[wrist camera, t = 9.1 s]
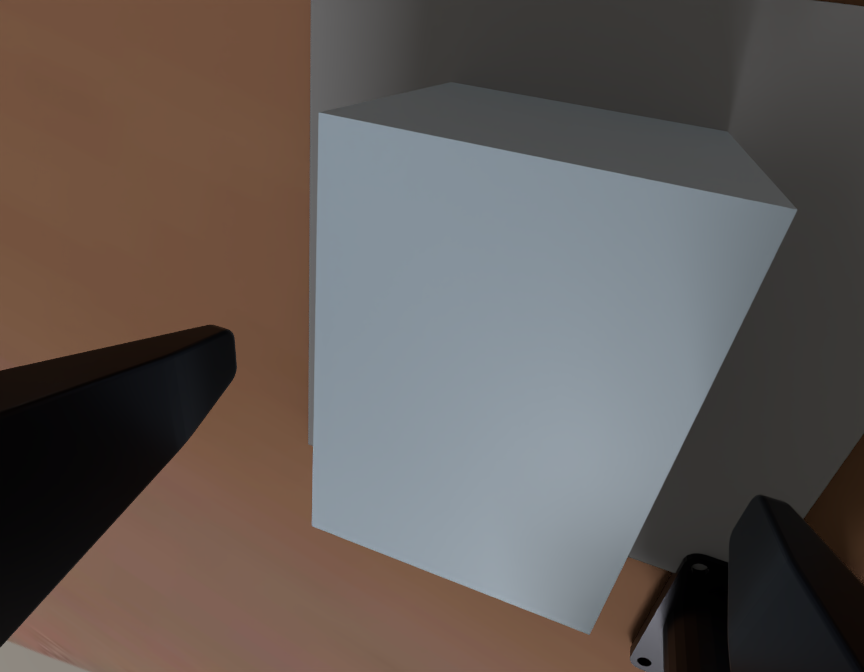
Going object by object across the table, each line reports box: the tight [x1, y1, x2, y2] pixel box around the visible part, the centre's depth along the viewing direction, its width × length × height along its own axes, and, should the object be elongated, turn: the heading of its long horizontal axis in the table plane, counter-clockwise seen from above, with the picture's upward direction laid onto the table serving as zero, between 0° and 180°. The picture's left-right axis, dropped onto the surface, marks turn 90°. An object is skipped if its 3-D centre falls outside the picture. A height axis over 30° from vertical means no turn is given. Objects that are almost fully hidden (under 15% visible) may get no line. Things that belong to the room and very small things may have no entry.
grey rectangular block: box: [312, 82, 797, 635], centre depth 12 cm, size 9×6×6 cm
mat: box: [308, 0, 864, 573], centre depth 15 cm, size 16×16×1 cm
